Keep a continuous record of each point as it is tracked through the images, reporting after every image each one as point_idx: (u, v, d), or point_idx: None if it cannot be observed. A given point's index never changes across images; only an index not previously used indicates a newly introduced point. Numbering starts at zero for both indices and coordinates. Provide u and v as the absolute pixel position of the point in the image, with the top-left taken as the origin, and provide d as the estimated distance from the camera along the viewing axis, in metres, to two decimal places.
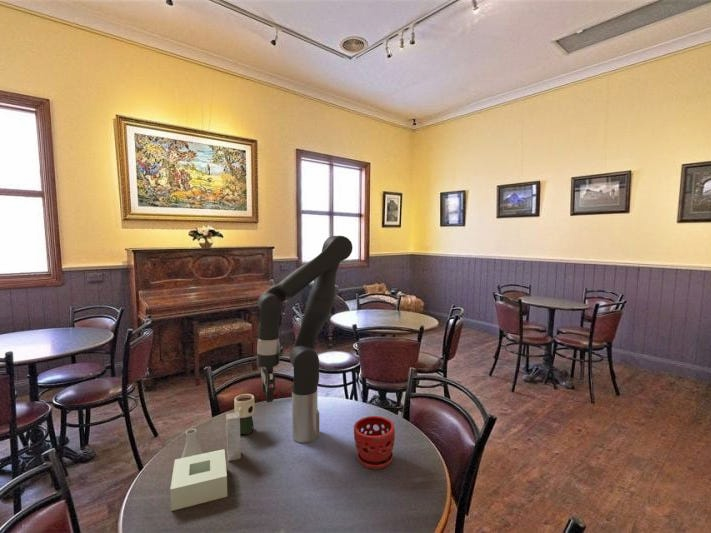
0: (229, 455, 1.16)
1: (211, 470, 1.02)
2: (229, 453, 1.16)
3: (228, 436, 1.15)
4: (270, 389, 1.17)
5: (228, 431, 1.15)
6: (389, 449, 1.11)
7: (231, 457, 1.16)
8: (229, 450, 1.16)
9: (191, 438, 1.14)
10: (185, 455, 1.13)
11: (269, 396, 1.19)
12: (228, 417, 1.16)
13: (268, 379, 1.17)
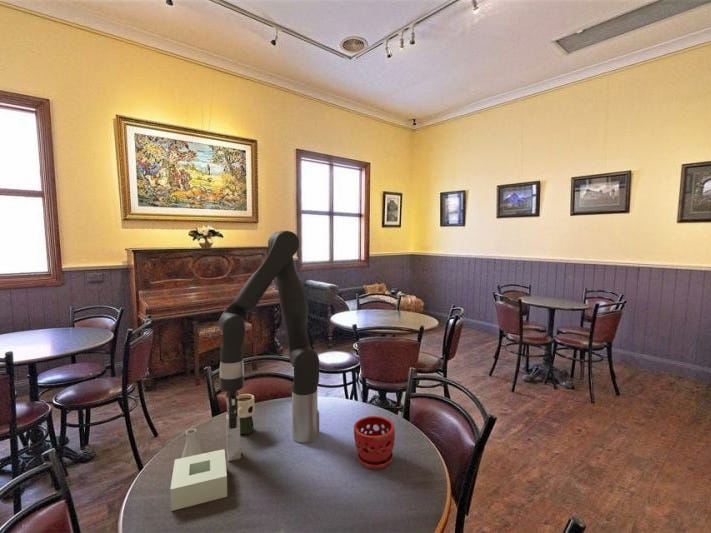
0: (229, 455, 1.16)
1: (211, 470, 1.02)
2: (229, 453, 1.16)
3: (228, 436, 1.15)
4: (232, 415, 1.10)
5: (228, 431, 1.15)
6: (389, 449, 1.11)
7: (231, 457, 1.16)
8: (229, 450, 1.16)
9: (191, 438, 1.14)
10: (185, 455, 1.13)
11: (232, 422, 1.12)
12: (228, 417, 1.16)
13: (230, 405, 1.10)
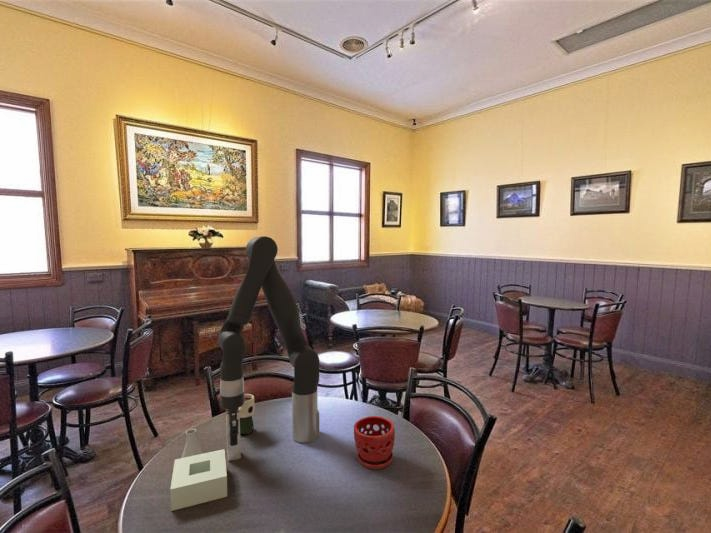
0: (229, 455, 1.16)
1: (211, 470, 1.02)
2: (229, 453, 1.16)
3: (228, 436, 1.15)
4: (233, 433, 1.13)
5: (228, 431, 1.15)
6: (389, 449, 1.11)
7: (231, 457, 1.16)
8: (229, 450, 1.16)
9: (191, 438, 1.14)
10: (185, 455, 1.13)
11: (233, 440, 1.15)
12: None
13: (231, 426, 1.11)
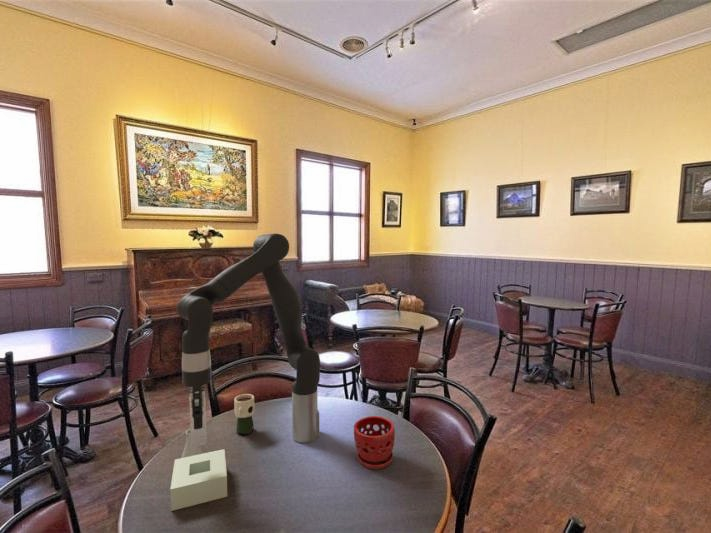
0: (192, 440, 1.00)
1: (211, 470, 1.02)
2: (192, 438, 1.00)
3: (191, 418, 0.99)
4: (196, 414, 0.97)
5: (191, 412, 0.99)
6: (389, 449, 1.11)
7: (195, 442, 1.00)
8: (192, 434, 1.00)
9: None
10: (185, 455, 1.13)
11: (197, 422, 0.99)
12: None
13: (193, 406, 0.95)
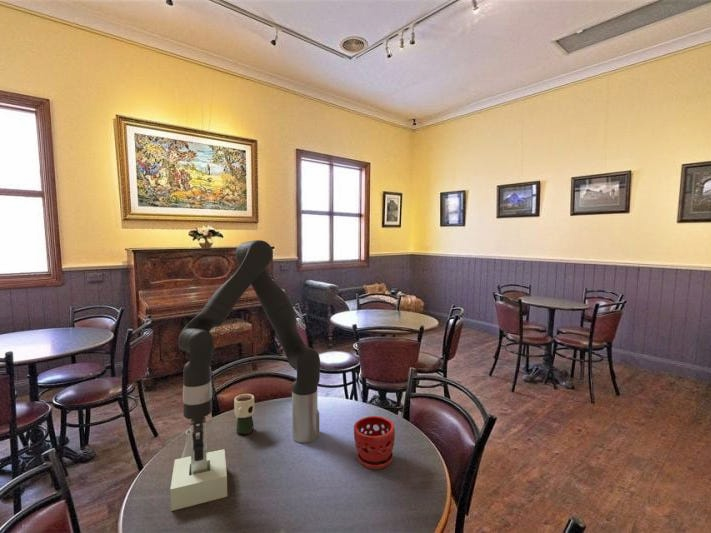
0: (193, 472, 1.00)
1: (211, 470, 1.02)
2: (193, 469, 1.00)
3: (192, 450, 1.00)
4: (197, 447, 0.98)
5: (192, 444, 1.00)
6: (389, 449, 1.11)
7: None
8: (193, 466, 1.00)
9: None
10: (185, 455, 1.13)
11: (197, 454, 0.99)
12: None
13: (194, 439, 0.96)
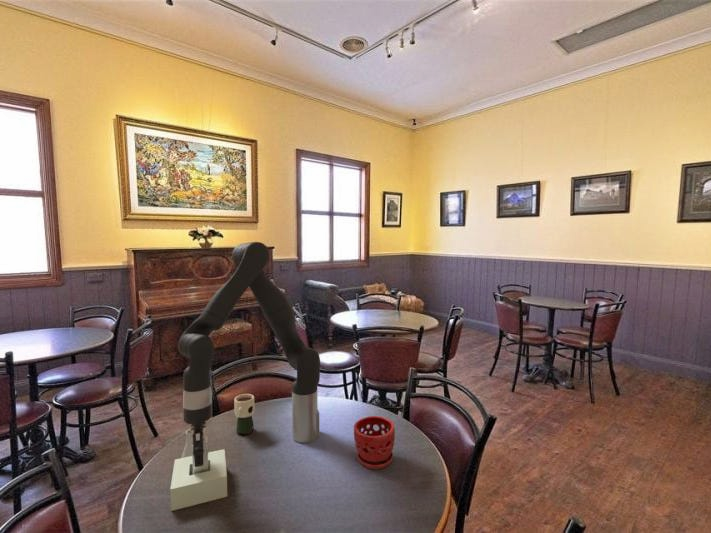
0: None
1: (211, 470, 1.02)
2: None
3: (194, 465, 1.00)
4: (197, 452, 0.96)
5: (194, 459, 1.00)
6: (389, 449, 1.11)
7: None
8: None
9: (191, 438, 1.14)
10: (185, 455, 1.13)
11: (197, 460, 0.98)
12: None
13: (194, 440, 0.95)
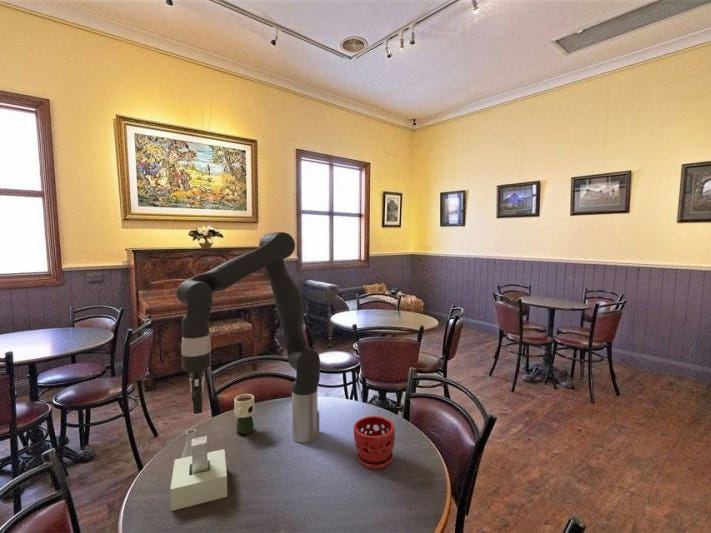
0: None
1: (211, 470, 1.02)
2: None
3: (193, 465, 1.00)
4: (196, 398, 0.95)
5: (193, 459, 1.00)
6: (389, 449, 1.11)
7: None
8: None
9: (191, 438, 1.14)
10: (185, 455, 1.13)
11: (196, 406, 0.97)
12: (193, 443, 1.01)
13: (193, 386, 0.95)
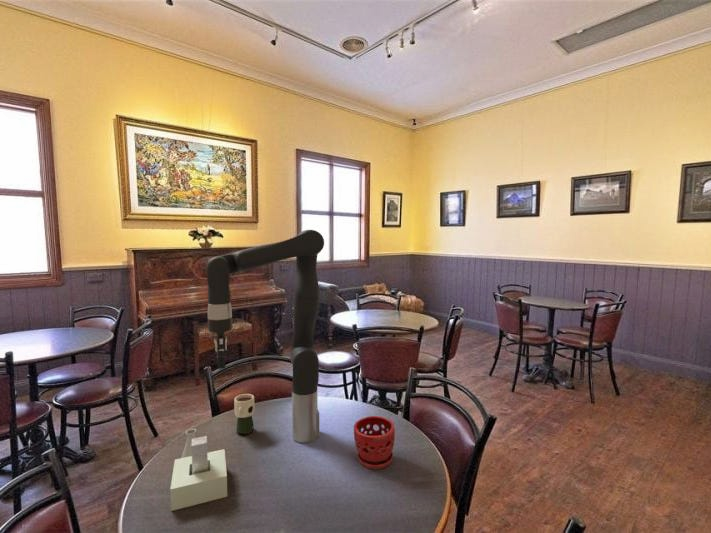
0: None
1: (211, 470, 1.02)
2: None
3: (193, 465, 1.00)
4: (220, 354, 1.13)
5: (193, 459, 1.00)
6: (389, 449, 1.11)
7: None
8: None
9: (191, 438, 1.14)
10: (185, 455, 1.13)
11: (220, 362, 1.14)
12: (193, 443, 1.01)
13: (218, 344, 1.12)
